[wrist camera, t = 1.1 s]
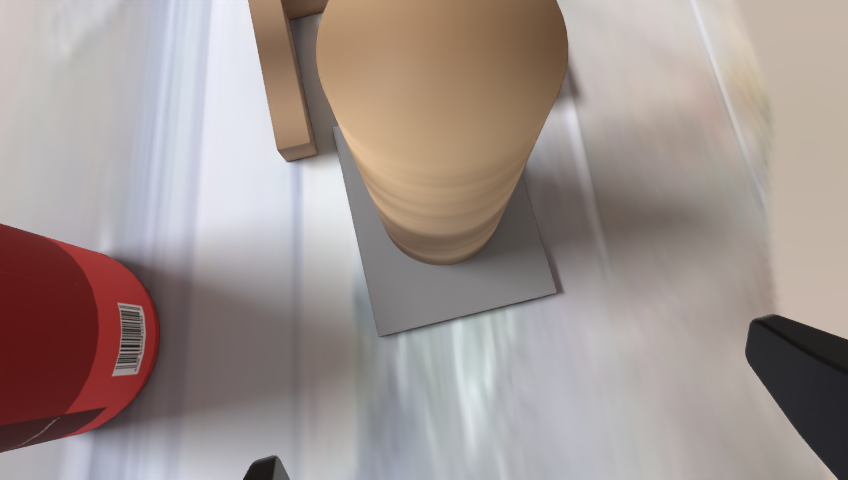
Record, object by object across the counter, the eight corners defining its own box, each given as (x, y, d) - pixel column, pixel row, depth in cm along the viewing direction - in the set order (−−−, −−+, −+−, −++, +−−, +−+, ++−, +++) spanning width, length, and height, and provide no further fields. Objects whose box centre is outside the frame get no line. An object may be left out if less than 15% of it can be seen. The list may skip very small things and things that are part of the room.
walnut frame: (551, 99, 25) (558, 83, 24) (286, 161, 25) (277, 149, 24) (503, -51, 27) (507, -74, 26) (255, 5, 27) (245, -15, 25)
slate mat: (554, 293, 24) (556, 292, 23) (379, 336, 23) (378, 336, 23) (495, 92, 26) (496, 88, 25) (333, 130, 25) (332, 127, 25)
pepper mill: (513, 249, 24) (600, 129, 11) (395, 278, 23) (344, 191, 11) (482, 138, 25) (528, -88, 12) (369, 165, 25) (294, -34, 12)
